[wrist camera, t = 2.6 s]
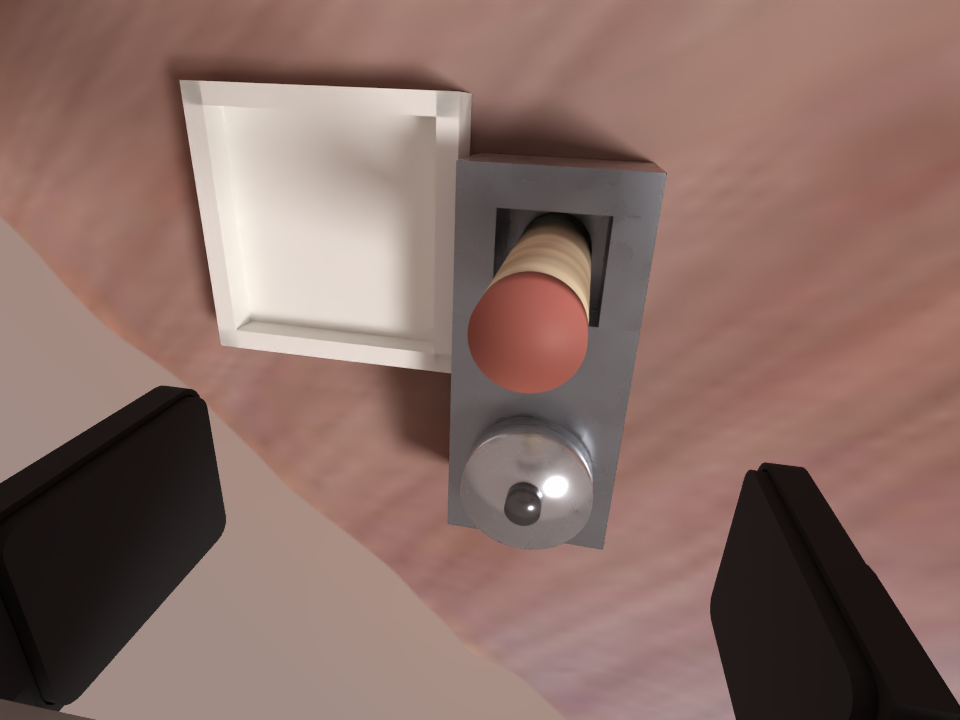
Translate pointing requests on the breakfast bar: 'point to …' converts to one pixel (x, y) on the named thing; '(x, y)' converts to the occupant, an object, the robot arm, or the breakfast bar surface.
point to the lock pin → (536, 308)
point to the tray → (330, 216)
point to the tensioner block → (597, 383)
